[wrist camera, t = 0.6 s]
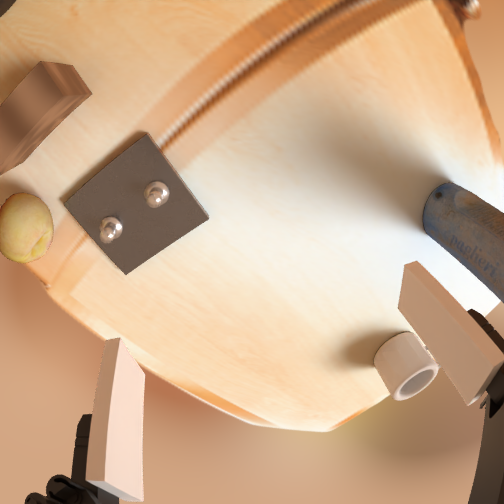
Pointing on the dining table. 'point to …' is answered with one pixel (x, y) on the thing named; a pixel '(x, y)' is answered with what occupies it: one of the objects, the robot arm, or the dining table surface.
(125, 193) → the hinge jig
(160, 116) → the dining table surface
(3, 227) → the fruit
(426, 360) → the mug
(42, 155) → the dining table surface
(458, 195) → the bottle
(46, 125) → the door
